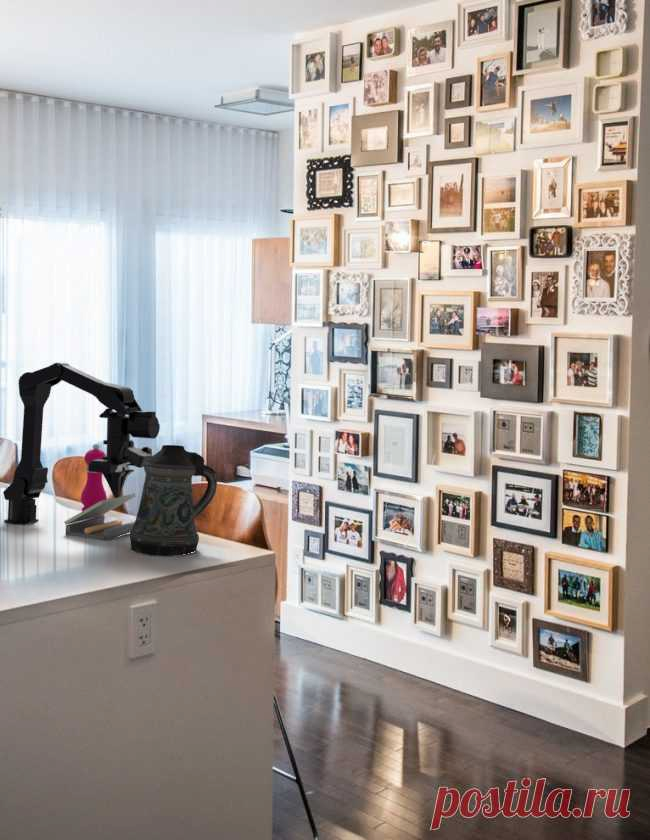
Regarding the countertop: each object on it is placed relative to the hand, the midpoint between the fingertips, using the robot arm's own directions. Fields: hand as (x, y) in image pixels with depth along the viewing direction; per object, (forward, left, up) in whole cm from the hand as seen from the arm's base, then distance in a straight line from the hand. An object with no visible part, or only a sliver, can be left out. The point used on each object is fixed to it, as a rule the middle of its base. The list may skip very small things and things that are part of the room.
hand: (116, 497), depth 258 cm
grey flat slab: (-3, 0, -10) cm, 10 cm away
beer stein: (+20, -8, -10) cm, 23 cm away
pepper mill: (-20, +22, -10) cm, 32 cm away
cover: (-4, 0, -4) cm, 6 cm away
